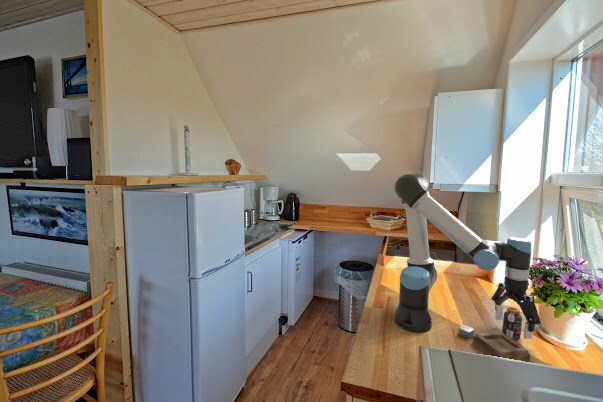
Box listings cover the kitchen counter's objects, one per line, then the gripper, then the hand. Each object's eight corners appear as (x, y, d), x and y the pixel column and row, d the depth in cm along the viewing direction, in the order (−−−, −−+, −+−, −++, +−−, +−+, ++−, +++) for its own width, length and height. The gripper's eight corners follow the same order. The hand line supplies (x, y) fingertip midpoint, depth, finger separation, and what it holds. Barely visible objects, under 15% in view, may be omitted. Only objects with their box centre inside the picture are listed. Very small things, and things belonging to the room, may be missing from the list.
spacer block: (468, 339, 110) (469, 332, 109) (458, 334, 113) (458, 327, 113) (473, 336, 112) (474, 329, 112) (463, 331, 115) (464, 324, 115)
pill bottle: (514, 341, 109) (517, 313, 107) (498, 333, 114) (501, 306, 113) (523, 337, 111) (526, 310, 110) (507, 329, 116) (510, 303, 115)
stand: (497, 364, 96) (498, 353, 95) (472, 342, 107) (473, 333, 107) (529, 361, 97) (530, 351, 96) (501, 340, 109) (502, 331, 108)
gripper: (557, 290, 98) (551, 347, 100) (499, 266, 122) (496, 312, 125) (537, 291, 97) (532, 348, 99) (483, 267, 122) (480, 313, 124)
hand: (512, 328), depth 112 cm, fingers open, 13 cm apart
